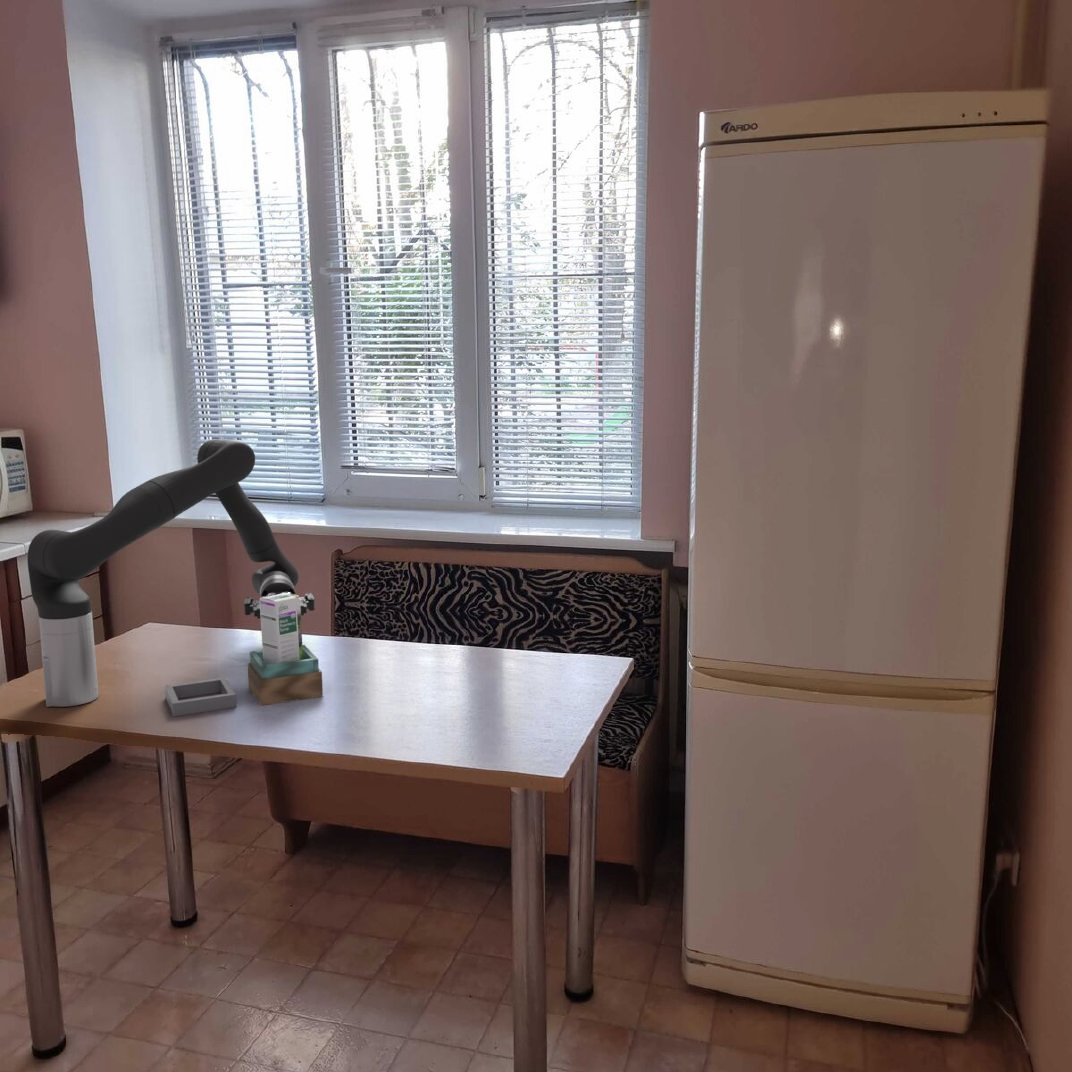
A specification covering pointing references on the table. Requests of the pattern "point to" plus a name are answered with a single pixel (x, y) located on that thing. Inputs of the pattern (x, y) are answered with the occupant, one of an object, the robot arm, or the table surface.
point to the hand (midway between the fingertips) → (280, 612)
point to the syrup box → (281, 628)
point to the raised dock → (284, 678)
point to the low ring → (203, 703)
